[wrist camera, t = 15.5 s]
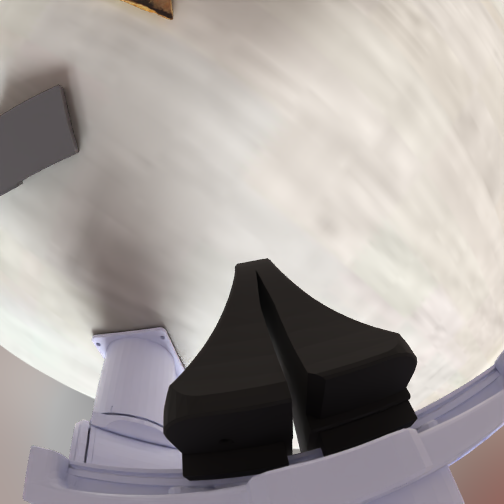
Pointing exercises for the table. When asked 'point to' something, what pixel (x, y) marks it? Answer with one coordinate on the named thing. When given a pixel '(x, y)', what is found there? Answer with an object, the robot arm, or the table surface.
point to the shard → (154, 6)
